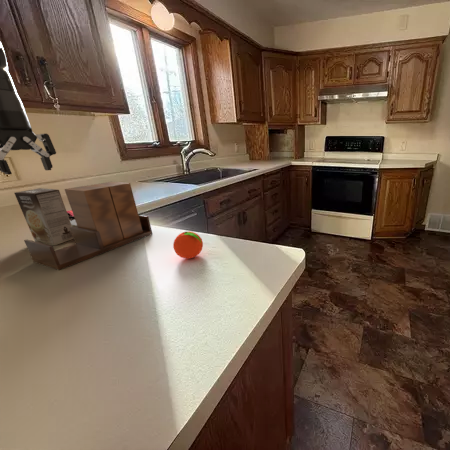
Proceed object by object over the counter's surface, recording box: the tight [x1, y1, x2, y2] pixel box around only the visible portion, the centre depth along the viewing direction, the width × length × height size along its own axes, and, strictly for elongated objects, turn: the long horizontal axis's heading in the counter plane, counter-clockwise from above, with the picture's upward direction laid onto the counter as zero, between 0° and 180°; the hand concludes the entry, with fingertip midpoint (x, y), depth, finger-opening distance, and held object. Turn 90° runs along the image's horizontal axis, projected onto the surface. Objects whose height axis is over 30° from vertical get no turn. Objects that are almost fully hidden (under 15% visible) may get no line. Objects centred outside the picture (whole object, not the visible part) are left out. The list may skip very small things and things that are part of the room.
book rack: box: [23, 181, 153, 271], centre depth 69 cm, size 25×12×17 cm, turn 157°
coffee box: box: [14, 187, 74, 246], centre depth 75 cm, size 9×6×16 cm
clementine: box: [172, 230, 204, 259], centre depth 62 cm, size 8×7×7 cm
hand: (29, 172), depth 70 cm, fingers open, 8 cm apart
